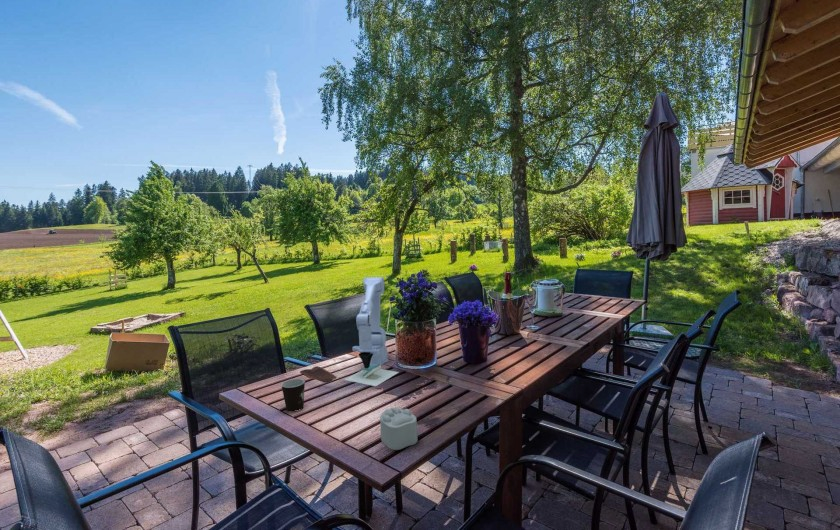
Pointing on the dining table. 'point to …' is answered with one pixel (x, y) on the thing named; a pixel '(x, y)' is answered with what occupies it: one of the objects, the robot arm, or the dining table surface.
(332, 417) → the dining table surface
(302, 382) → the coffee mug
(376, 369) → the tile
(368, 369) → the flat tile
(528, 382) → the dining table surface
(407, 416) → the lumpy-topped squat cylinder
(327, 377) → the wooden tablet
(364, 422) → the dining table surface
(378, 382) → the felt mat
